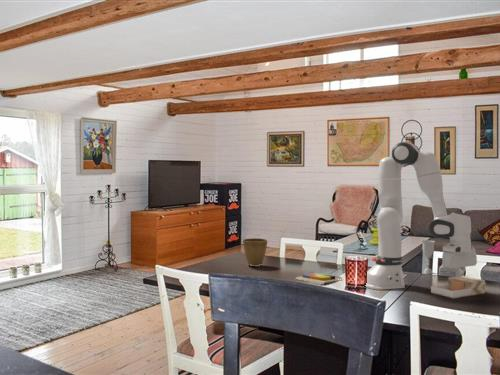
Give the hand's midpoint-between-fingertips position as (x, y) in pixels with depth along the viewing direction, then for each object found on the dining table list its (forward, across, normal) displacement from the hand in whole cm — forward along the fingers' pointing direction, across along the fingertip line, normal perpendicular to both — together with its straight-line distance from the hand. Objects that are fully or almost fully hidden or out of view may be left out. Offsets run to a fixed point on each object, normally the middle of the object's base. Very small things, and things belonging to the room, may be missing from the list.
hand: (459, 276), depth 220 cm
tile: (+4, +1, +1) cm, 5 cm away
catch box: (+8, +6, 0) cm, 10 cm away
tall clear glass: (+8, -26, -40) cm, 48 cm away
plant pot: (+9, +51, -103) cm, 115 cm away
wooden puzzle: (+9, +41, -53) cm, 68 cm away
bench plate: (+8, -5, 0) cm, 9 cm away
